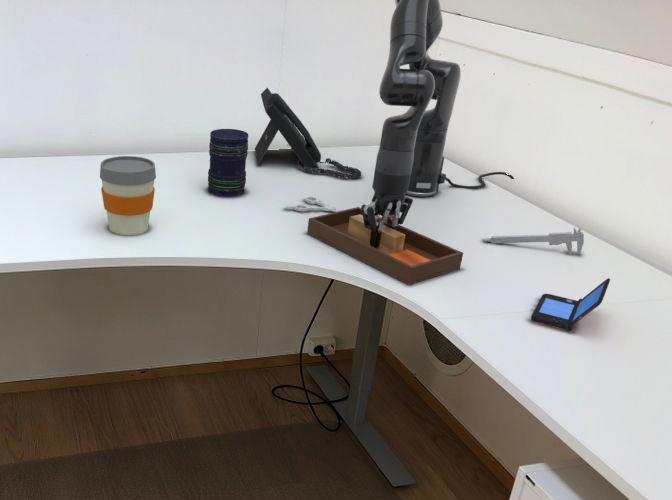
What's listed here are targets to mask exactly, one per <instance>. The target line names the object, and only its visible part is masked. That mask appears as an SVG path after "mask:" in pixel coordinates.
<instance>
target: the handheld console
mask: <svg viewBox="0 0 672 500" xmlns="http://www.w3.org/2000/svg"><path fill="white" fill-rule="evenodd" d="M610 282H611V278H610V277H609V278H606V279H605V280H603V281H602V282H601V283H600V284H598V286H596V287H594V289H592V290H591V291H590V292H589V293H588V294H586V295H585V296H584V297H582V298H579V299H578V300H576V299H571V298H568V297H564V296H559V295H556V294H555V295H554V294H551V293H543V294H542V295H541V297H540V299H539V301H538V302H537V304H536V306H535V308H534V309H533V312H532V314H531V316H530V320H531V321H532V322H534V323H537V324H540V325H541V324H542V325H545V326H548V327H553V328H556V329H561V330H565V331H567V332H572V331H573V328H574V326H575V325H576V324H577V323H579V322H580V321H581V320H582V319H584V318H585V317H586V316H588V314H589V315H590V313H591V312H593V311H594V310H595V309H597V308H598V307H599V306H600V305H601V304H602V302H603V301H604V298H605V295H606V292H607V290H608V287H609V285H610Z"/></svg>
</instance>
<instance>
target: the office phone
mask: <svg viewBox="0 0 672 500" xmlns="http://www.w3.org/2000/svg"><path fill="white" fill-rule="evenodd" d="M260 97H261V102H262V105H263V109H264V111H265V113H266V115H267V116H268V118H269V119H270V120H269V122H268V123H267V125H266V127H265V129H264V131H263V133H262V134H261V136H260V138H259V140H258V142H257V143H256V144H255V145H256V146H255V147H254V153H255V156H256V162H257V166H258V167H259V165H260V164H261V162H262V160H263V159H264V157H265V155H266V153H267V151H268V150H269V148H270V146H271V145H272V142H273V141H274V139H275V137H276V136H277V134H278V132H279V133H280V134H281V136H282V137H283V139H284V140H285V141H286V142H287V144H288V146H289V147H290V148H291V150H292V151H293V152H294V154H295V155H296V157H297V158H298V160H297V166H298V167H297V168H298V169H301V170H303V171H304V172H307V173H309V174H321V175H324V174H325V175H328V176H335V178H337V177H340V178H342V179H349V180H352V179H357V178H358V179H359V178H360V177H362V170H360V169H358V168H357V167H354V166H348V165H344V164H342V163H340V162H339V161H337V160H335V159H331V158H330V157H328V158H326V159H325V161H324V162H323V161H322V154H321V152H320V150H319V148H318V146H317V145H316V143H315V141H314V139H313V137H312V136H311V134H310V132H309V131H308V129H307V128H306V126H305V125H304V123H303V122H302V121H301V119H300V118H299V117H298V115H296V113H295V112H294V111H293V110H292V108H291V107H290V105H288V104H287V102H286V101H285V100H284V99H283V98H282V96H281V95H280V94H279V93H277V92H275V93H273V92H271V90H270V88H268V87H266V88H265V89H264V90H263V91H262V92H261V94H260ZM300 162H301V163H302V165H303V167H302V166H301V164H300ZM318 163H319V164H328V165H332V166H333V167H335V168H337V169H338V170H341V171H338V170H334V169H329V168H319V166H318Z"/></svg>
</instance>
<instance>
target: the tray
mask: <svg viewBox="0 0 672 500" xmlns="http://www.w3.org/2000/svg"><path fill="white" fill-rule="evenodd" d="M342 210H343V211H338V212H330V213H326V214H321V215H317V216H313V217H309V218H308V222H307V233H306V234H307V235H309V236H311V237H313V238H315V239H316V240H319V241H321V242H322V243H324V244H327V245H328V246H331V247H332V248H335V249H337V250H339V251H340V252H343V253H344V254H347V255H349V256H351V257H353V258H354V259H356V260H358V261H360V262H363V263H364V264H366V265H368V266H370V267H372V268H374V269H376V270H378V271H380V272H382V273H384V274H386V275H389V277H392V278H394V279H396V280H398V281H400V282H402V283H403V284H405V285H408V286H411V285H414V284H417V283H419V282H423V281H427V280H429V279H433V278H436V277H440V276H442V275H446V274H449V273H452V272H455V271H459V270H460V269H461V265H462V261H463V258H464V257H463V256H464V252H462V251H461V250H458V249H456V248H454V247H451V246H449V245H446V244H444V243H442V242H440V241H437V240H435V239H433V238H431V237H428V236H426V235H424V234H422V233H419V232H417V231H415V230H412V229H410V228H408V227H405V226H403V225H402V224H401V225H400V224H399V225H397V228H395V230H396V231H398V232H400V233H403V234H405V240H404V245H403V250H409V251H412V252H414V253H416V254H418V255H420V256H422V257H425V258H427V259H429V260H430V261H427V262H423V263H420V264H417V265H413V266H411V265H409V264H407V263H405V262H402V261H400V260H398V259H396V258H394V257H392V256H390V255H388V254H386V253H384V252H382V251H380V250H377V249H375V248H373V247H371V246H369V245H367V244H365V243H363V242H361V241H359V240H357V239H355V238H352V237H350V236H348V235H347V233H348V226H349V219H350V217H351V216H355V215H362V209H361V206H356V207H352V208H348V209H342ZM362 216H363V215H362ZM377 222H378V223H379V221H377ZM384 225H385V226H387V225H386V222H385V223H384Z"/></svg>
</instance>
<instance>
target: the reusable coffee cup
mask: <svg viewBox="0 0 672 500" xmlns="http://www.w3.org/2000/svg"><path fill="white" fill-rule="evenodd" d="M156 173H157V172H156V164H155V161H153V160H151V159H149V158H146V157H142V156H135V155H134V156H133V155H120V156H113V157H109V158H105V159H104V160H102V161H101V162H100V167H99V178H100V179H101V185H102V186H101V187H100V189H101V197H102V203H103V208H104V210H105V211H106V218H107V223H108V229H109V231H110V232H112V233H114V234H116V235H121V236H137V235H141V234H144V233H146V232H147V231H148V230H149V222H150V216H151V211H152V210H153V207H154V200H155V199H154V198H155V192H156V188H155V186H154V185H155V180H156V178H157V174H156Z"/></svg>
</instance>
